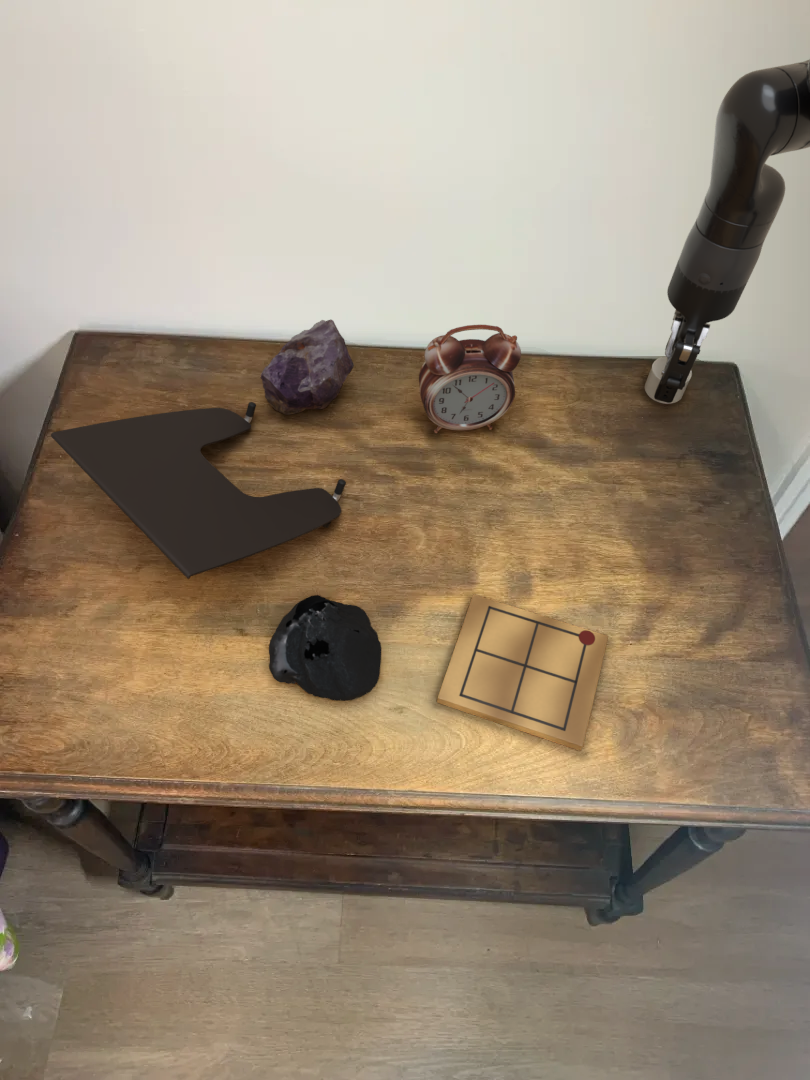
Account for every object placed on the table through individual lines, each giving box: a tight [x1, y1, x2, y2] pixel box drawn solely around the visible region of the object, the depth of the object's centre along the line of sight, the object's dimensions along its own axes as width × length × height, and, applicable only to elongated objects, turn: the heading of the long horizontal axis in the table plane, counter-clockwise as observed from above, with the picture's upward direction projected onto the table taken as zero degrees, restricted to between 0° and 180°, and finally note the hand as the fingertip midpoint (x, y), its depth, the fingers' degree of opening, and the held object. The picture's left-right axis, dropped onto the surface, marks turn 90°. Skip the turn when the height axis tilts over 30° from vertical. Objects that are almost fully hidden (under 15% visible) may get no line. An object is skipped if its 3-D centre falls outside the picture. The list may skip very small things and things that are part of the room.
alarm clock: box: [418, 324, 522, 434], centre depth 91 cm, size 11×5×15 cm, turn 97°
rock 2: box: [268, 594, 382, 702], centre depth 78 cm, size 9×10×10 cm
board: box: [436, 593, 609, 751], centre depth 79 cm, size 14×12×1 cm
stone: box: [644, 355, 693, 405], centre depth 100 cm, size 5×5×3 cm
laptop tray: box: [50, 401, 347, 580], centre depth 86 cm, size 23×23×9 cm
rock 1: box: [260, 319, 355, 416], centre depth 95 cm, size 12×9×10 cm
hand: (668, 375), depth 99 cm, fingers open, 8 cm apart
